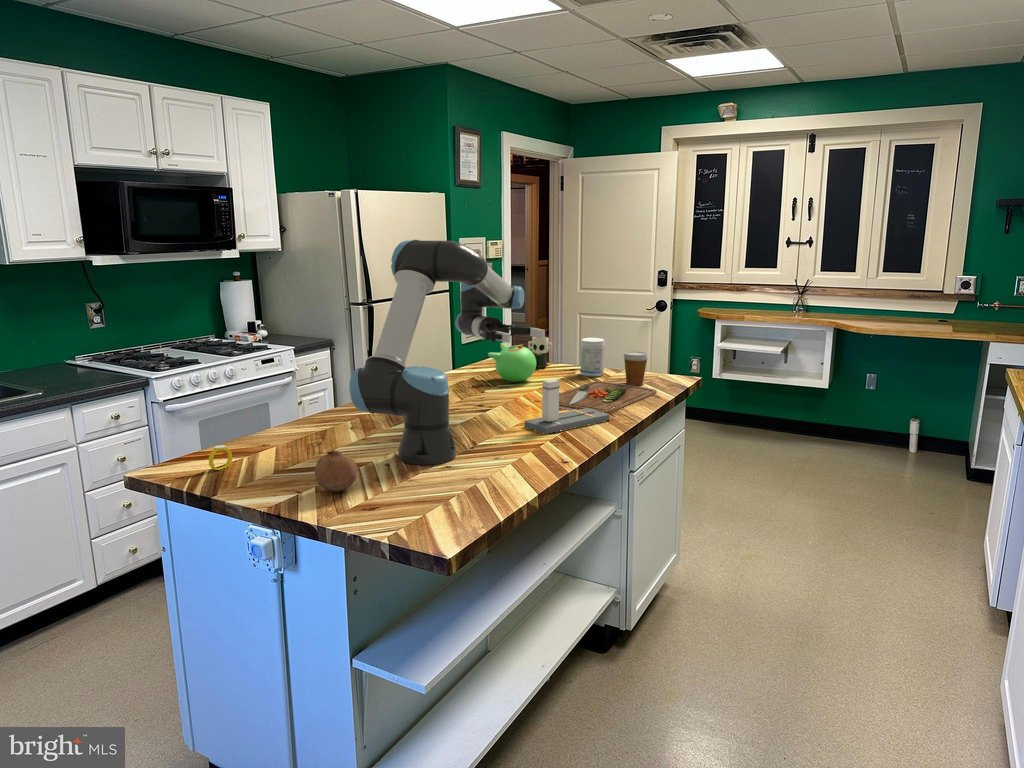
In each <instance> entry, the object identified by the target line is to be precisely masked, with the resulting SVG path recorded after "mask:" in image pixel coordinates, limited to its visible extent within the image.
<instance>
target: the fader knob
mask: <svg viewBox="0 0 1024 768" xmlns="http://www.w3.org/2000/svg"><path fill="white" fill-rule="evenodd" d="M541 388H542V390H541V391H542V392H541V393H542V394H541V395H542V402H541V417H542V420H545V421H548V422H549V421H554V420H559V414H560V409H559V407H560V406H559V394H560V380H557V379H554V378H551V379H546V380H542V387H541Z"/></svg>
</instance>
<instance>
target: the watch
mask: <svg viewBox="0 0 1024 768" xmlns="http://www.w3.org/2000/svg"><path fill="white" fill-rule="evenodd" d="M218 451H219V452H220V451H226V453H227V460H226V463H225V464H224V465H222V466H220V467H216V466H215V465H214V464H215V463H214V458H215V455H216V453H218ZM232 461H233V454H232V451H231V450H230V449H229V448H228V447H227V446H226V445H224V444H222V445H221V444H220V445H215V446H213V450H212V451H211V452H210V453H209V456H208V464H209V466H210V468H211V469H212V470H214V471H216V470H220V469H222V470H224V469H223V468H226V467H228V468H229V467H230V465H231V464H232ZM226 469H227V468H226ZM220 471H221V470H220Z"/></svg>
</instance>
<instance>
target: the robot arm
mask: <svg viewBox="0 0 1024 768" xmlns="http://www.w3.org/2000/svg"><path fill="white" fill-rule="evenodd" d="M390 261H391V264H390V268H391V272H392V275H393V277H394V281H395V283H396V287H395V291H394V294H393V297H392V299H391V303H390V306H389V309H388V312H387V315H386V319H385V320H384V323H383V327H382V330H381V333H380V336H379V339H378V342H377V346H376V348H375V351H374V354H373V355H371V356H368V357H367V359H366V360H365V363H364V366H363V367H359V368H358V367H357V368H356V369H354V370H353V372H352V373H351V375H350V377H349V378H350V379H349V388H348V389H349V395H350V400H351V402H352V404H353V406H354V408H356V409H357V410H358V411H360V412H365V413H369V414H372V415H375V414H379V415H390V416H398V417H399V416H400V417H403V420H404V423H403V424H404V425H403V426H404V430H403V432H402V436H401V439H400V442H399V447H398V451H397V452H398V459H399V461H401V462H404V463H406V464H411V465H419V466H420V465H421V466H428V465H439V464H444V463H448V462H450V461H452V460H454V459H455V458H456V456H457V449H456V447H457V446H456V444H455V441H454V438H453V435H452V432H451V429H450V421H449V420H450V419H449V418H450V416H449V415H450V411H449V410H450V409H449V408H450V407H449V406H450V405H449V403H450V402H449V401H450V399H449V398H450V395H449V393H450V387H449V380H448V375H447V374H446V373H445V372H444V371H442V370H441V369H437V368H435V367H430V366H424V365H423V366H418V365H416V366H415V365H414V366H413V365H411V366H408V367H407V366H406V361H407V359H408V355H409V352H410V348H411V345H412V342H413V338H414V335H415V332H416V329H417V326H418V322H419V319H420V316H421V313H422V309H423V307H424V303H425V300H426V296H427V294H430V293H432V292H433V291H434V289H435V286H436V282H438V283H439V282H442V283H445V282H448V283H449V282H455V283H460V291H459V293H460V313H458V315H457V316H456V318H455V320H454V321H455V322H454V324H455V328H456V330H457V331H458V332H459V333H461V334H463V335H465V336H470V337H476V338H481V341H482V340H483V341H484V340H486V341H491V343H496V341H497V342H501V343H507V344H509V343H511V337H512V336H514V335H516V336H518V335H519V336H530V337H537V338H542V339H544V338H545V337H546V330H545V329H541V328H538V326H535V325H534V324H532V325H531V326H530V325H519V324H513V323H512V324H506V323H502V321H501V320H500V319H499V318H496V317H491V316H487V315H483V312H484V311H483V310H484V308H492V309H493V308H494V309H508V310H510V309H511V310H514V309H515V310H517V309H522V307H523V306H524V303H525V291H524V289H523V287H522V286H520V285H519V286H517V285H510V284H509V283H508V282H507V281H505V280H504V278H502V277H501V276H500V275H499V274H497V272H495V271H494V270H493V269H492V267H489V264H488V262H487V260H486V259H485V258H484V256H483V255H481V254H480V253H479V252H478V251H476V250H474V249H473V248H471V247H469V246H467V245H466V244H463V243H460V242H457V241H453V240H421V239H412V240H404V241H401V242H400V243H398V245H397V246H396V247H395V248H394V250H393V253H392V255H391V260H390Z"/></svg>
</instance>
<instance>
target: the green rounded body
mask: <svg viewBox="0 0 1024 768" xmlns="http://www.w3.org/2000/svg"><path fill="white" fill-rule="evenodd" d="M500 349H501V351H499V352H493V351H492V352H488V353H487V355H488V357H489V358H491V359H493V360H495V371H496V373H497V374H498V375H499V376H500V377H501V378H502V379H503V380H505V381H508V382H517V383H518V382H523V381H525V380H527V379H529V378H531V377H532V376H533V375H534V373H535V371H536V369H537V367H536V359H535V356H534V355H535V353H534V352H532V350H531V349H529V348H528V347H525V346H524V344H517V345H511V346H509V345H507V344H506V343H505V342H501V343H500Z"/></svg>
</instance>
